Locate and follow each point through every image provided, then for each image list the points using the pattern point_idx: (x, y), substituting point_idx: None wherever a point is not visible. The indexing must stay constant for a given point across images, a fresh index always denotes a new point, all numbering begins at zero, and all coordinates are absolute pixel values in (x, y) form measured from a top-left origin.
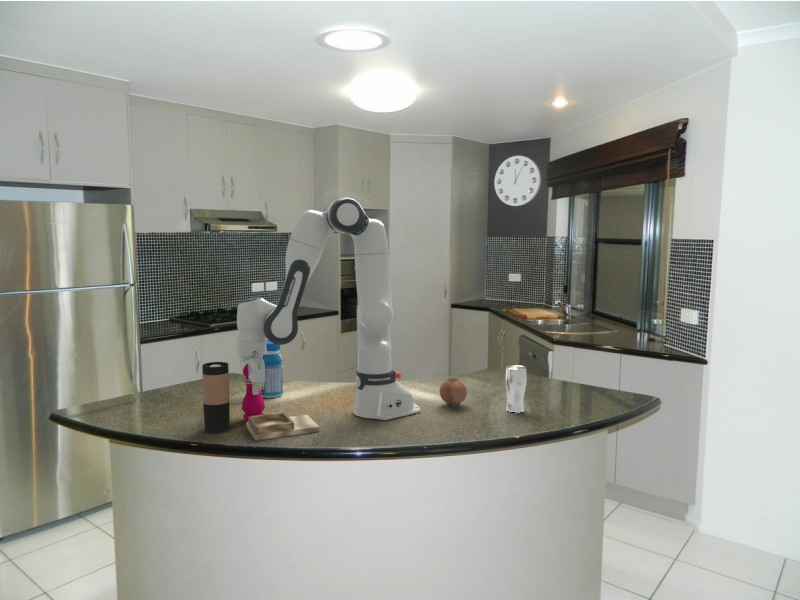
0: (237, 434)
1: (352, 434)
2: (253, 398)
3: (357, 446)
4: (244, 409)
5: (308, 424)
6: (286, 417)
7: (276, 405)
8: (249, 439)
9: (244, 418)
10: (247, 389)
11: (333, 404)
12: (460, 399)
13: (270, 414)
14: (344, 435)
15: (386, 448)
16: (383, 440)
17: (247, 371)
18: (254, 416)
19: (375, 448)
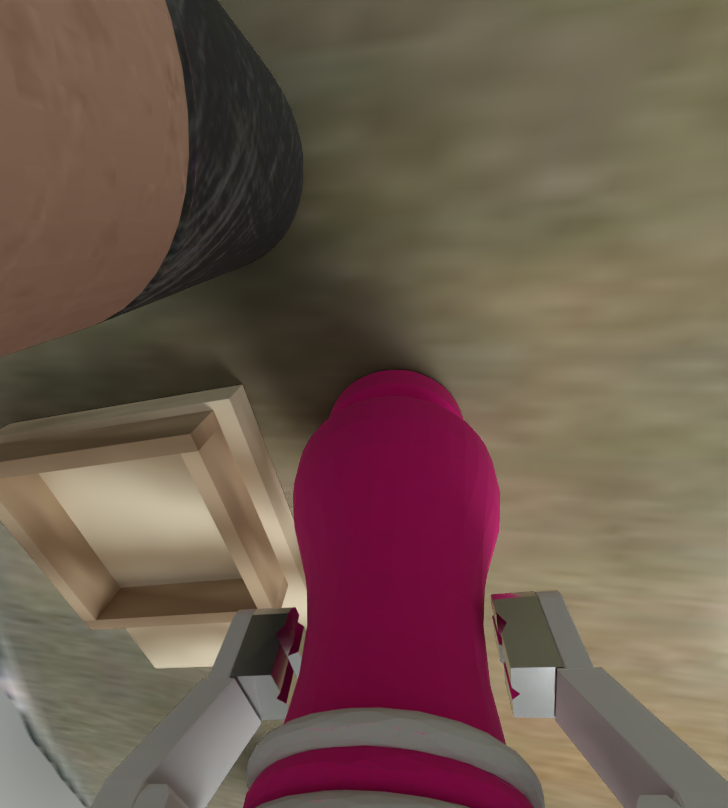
0: (100, 327)
1: (139, 705)
2: (303, 561)
3: (29, 693)
4: (326, 421)
5: (181, 645)
6: (178, 613)
7: (657, 563)
8: (24, 394)
9: (363, 383)
10: (338, 609)
11: (526, 735)
12: None
13: (235, 557)
14: (128, 690)
15: (28, 732)
16: (92, 742)
17: None
18: (193, 472)
19: (22, 717)
